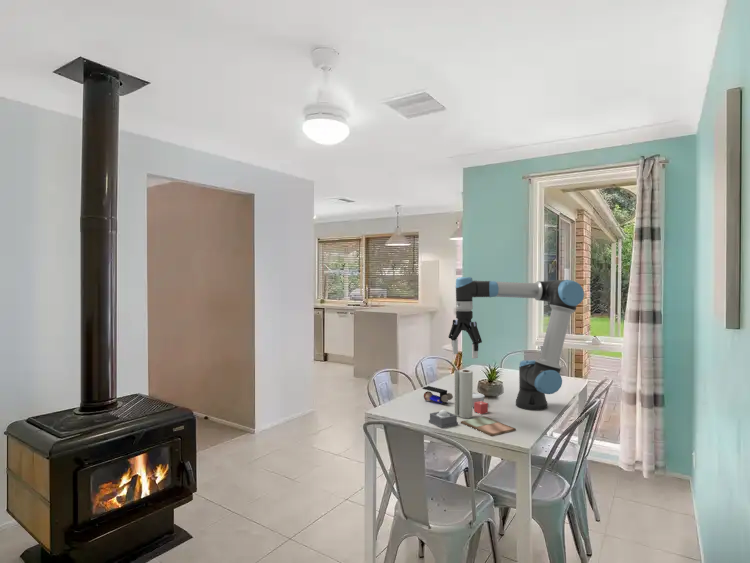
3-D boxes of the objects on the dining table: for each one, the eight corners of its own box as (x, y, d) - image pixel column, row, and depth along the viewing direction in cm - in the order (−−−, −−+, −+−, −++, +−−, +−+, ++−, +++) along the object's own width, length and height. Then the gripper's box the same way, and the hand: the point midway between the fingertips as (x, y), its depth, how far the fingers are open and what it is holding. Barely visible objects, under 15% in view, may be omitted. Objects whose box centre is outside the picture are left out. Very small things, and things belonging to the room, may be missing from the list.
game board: (484, 418, 208) (484, 416, 208) (515, 430, 191) (515, 428, 191) (460, 423, 201) (460, 421, 201) (491, 436, 184) (491, 434, 184)
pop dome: (444, 417, 204) (444, 406, 204) (452, 421, 199) (452, 410, 199) (433, 419, 201) (433, 408, 201) (442, 423, 196) (442, 412, 196)
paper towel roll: (474, 416, 210) (474, 370, 210) (468, 419, 206) (468, 372, 205) (461, 413, 215) (461, 368, 215) (454, 416, 210) (454, 370, 210)
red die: (481, 410, 220) (481, 400, 220) (487, 412, 216) (487, 403, 216) (474, 411, 217) (474, 402, 217) (480, 414, 214) (480, 404, 213)
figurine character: (452, 406, 232) (427, 398, 241) (454, 391, 231) (428, 384, 241) (446, 409, 226) (420, 400, 236) (447, 394, 226) (421, 386, 235)
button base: (444, 418, 207) (444, 410, 207) (458, 424, 199) (458, 415, 199) (428, 422, 202) (428, 413, 202) (441, 428, 194) (441, 418, 194)
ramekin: (481, 402, 234) (481, 391, 234) (487, 408, 223) (487, 397, 223) (459, 402, 234) (459, 392, 234) (464, 408, 223) (464, 398, 223)
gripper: (441, 309, 218) (441, 352, 218) (476, 312, 197) (477, 361, 197) (453, 308, 222) (453, 351, 222) (489, 311, 200) (490, 359, 201)
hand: (464, 356), depth 210 cm, fingers open, 13 cm apart
